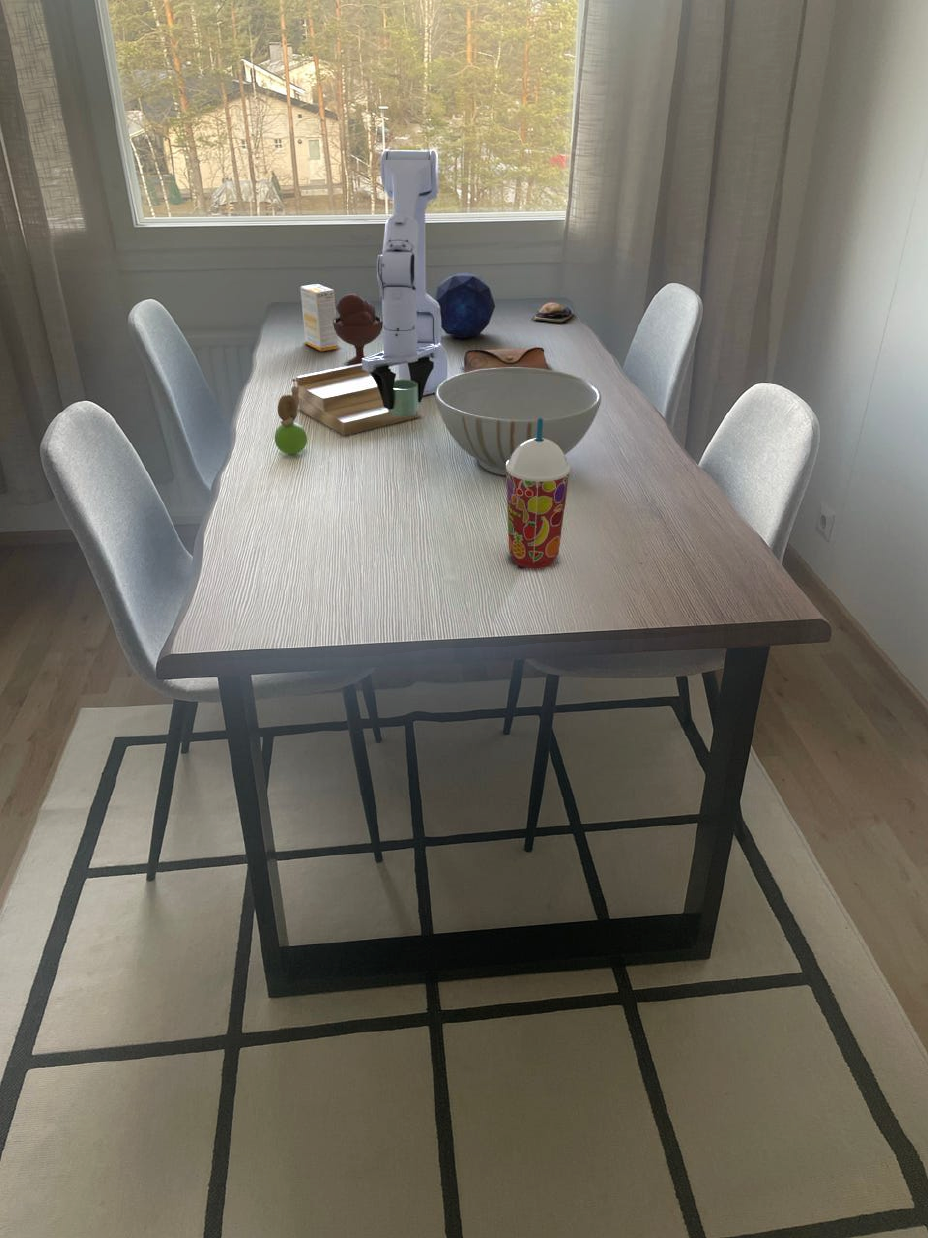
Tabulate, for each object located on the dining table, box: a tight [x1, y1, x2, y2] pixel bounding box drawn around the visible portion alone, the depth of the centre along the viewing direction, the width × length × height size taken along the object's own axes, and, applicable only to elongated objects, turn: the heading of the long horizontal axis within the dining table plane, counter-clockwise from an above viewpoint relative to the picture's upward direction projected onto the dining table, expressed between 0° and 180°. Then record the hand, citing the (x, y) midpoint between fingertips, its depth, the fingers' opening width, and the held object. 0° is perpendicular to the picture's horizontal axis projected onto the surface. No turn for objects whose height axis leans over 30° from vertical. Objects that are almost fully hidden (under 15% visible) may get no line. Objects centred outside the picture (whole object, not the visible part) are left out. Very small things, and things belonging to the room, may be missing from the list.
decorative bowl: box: [434, 367, 602, 476], centre depth 152 cm, size 27×27×12 cm
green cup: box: [387, 379, 420, 417], centre depth 163 cm, size 6×6×5 cm
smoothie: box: [505, 418, 572, 570], centre depth 121 cm, size 8×8×20 cm
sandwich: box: [533, 302, 573, 323], centre depth 235 cm, size 11×8×4 cm
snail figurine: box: [274, 378, 308, 455], centre depth 155 cm, size 5×6×12 cm
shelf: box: [295, 363, 419, 437], centre depth 173 cm, size 17×16×6 cm
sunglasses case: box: [463, 346, 550, 373], centre depth 198 cm, size 18×7×7 cm
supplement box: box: [299, 283, 339, 352], centre depth 210 cm, size 8×5×13 cm, turn 34°
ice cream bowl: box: [333, 293, 383, 366], centre depth 198 cm, size 11×11×15 cm
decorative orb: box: [433, 271, 496, 340], centre depth 218 cm, size 14×15×15 cm
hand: (402, 404), depth 163 cm, fingers closed on green cup, 5 cm apart
